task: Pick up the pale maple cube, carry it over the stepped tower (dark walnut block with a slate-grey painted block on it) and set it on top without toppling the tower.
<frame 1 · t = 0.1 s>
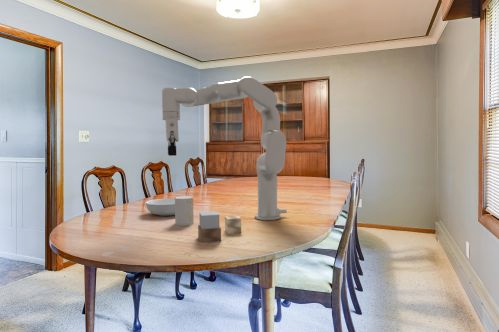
hand: (172, 155, 143), 31 cm above the table, fingers open, 9 cm apart
maple cube: (233, 231, 133), on the table
serving bowl: (167, 214, 168), on the table
walnut block: (209, 239, 122), on the table, touching grey block
grey block: (209, 226, 122), point 5 cm above the table, touching walnut block
cup: (184, 224, 147), on the table
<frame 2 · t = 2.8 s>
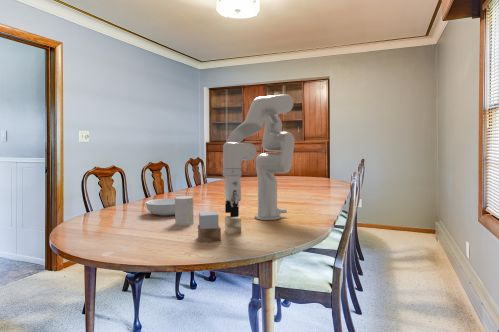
hand: (231, 214, 131), 7 cm above the table, fingers open, 9 cm apart
nothing on the table moved.
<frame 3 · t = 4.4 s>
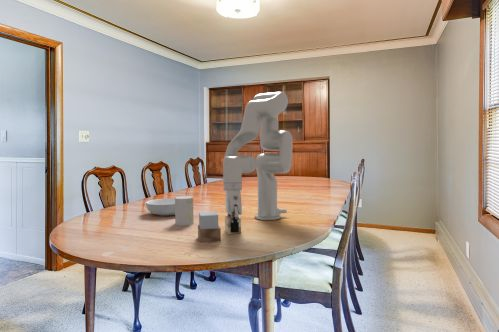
hand: (232, 229, 132), 1 cm above the table, fingers closed on maple cube, 5 cm apart
maple cube: (232, 231, 132), on the table, touching gripper
everything else where it was.
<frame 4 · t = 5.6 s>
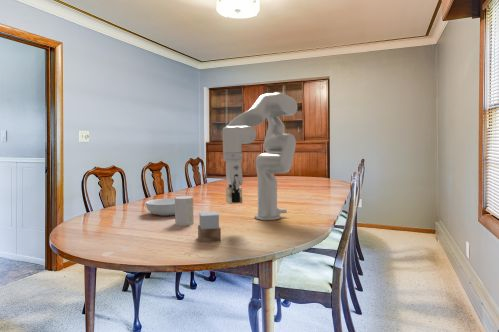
hand: (234, 200, 133), 13 cm above the table, fingers closed on maple cube, 5 cm apart
maple cube: (234, 202, 133), point 12 cm above the table, touching gripper
everything else where it was.
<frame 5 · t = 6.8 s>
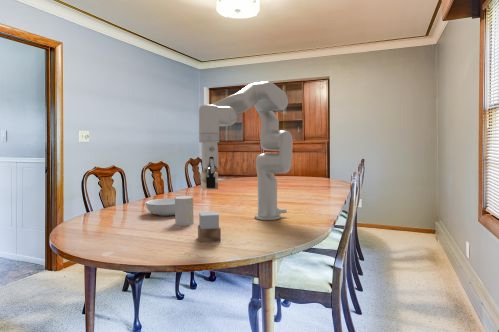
hand: (209, 186, 121), 20 cm above the table, fingers closed on maple cube, 5 cm apart
maple cube: (209, 188, 121), point 19 cm above the table, touching gripper
everything else where it was.
when the fingers open (12 cm above the table, at t = 9.1 s): maple cube drops 1 cm, resting on grey block.
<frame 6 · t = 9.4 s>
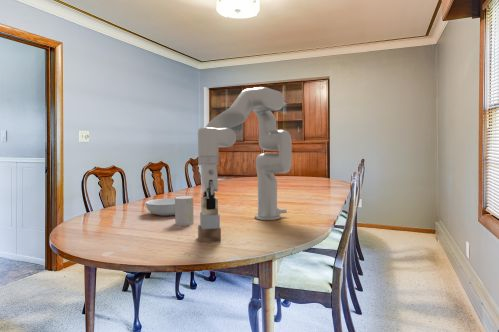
hand: (209, 206, 121), 12 cm above the table, fingers open, 8 cm apart
maple cube: (209, 213, 121), point 10 cm above the table, touching grey block
grey block: (209, 226, 121), point 5 cm above the table, touching maple cube, walnut block
everything else where it was.
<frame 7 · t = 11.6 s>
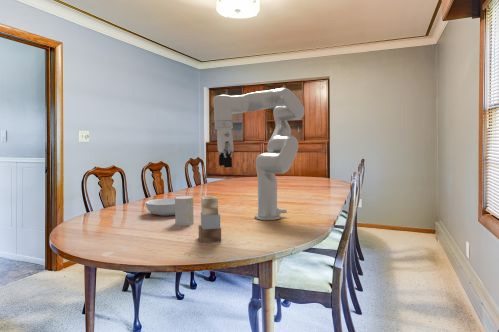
hand: (225, 166, 136), 27 cm above the table, fingers open, 9 cm apart
nothing on the table moved.
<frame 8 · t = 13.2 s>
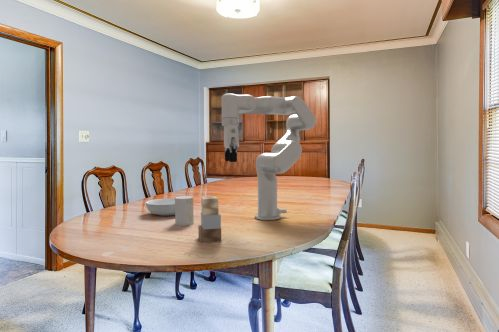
hand: (230, 161, 143), 28 cm above the table, fingers open, 9 cm apart
nothing on the table moved.
at the end: maple cube 0.3 cm off-centre on the walnut block, point 10.0 cm above the walnut block's base; grey block 0.6 cm off-centre on the walnut block, point 5.0 cm above the walnut block's base; maple cube tilted 0° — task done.
